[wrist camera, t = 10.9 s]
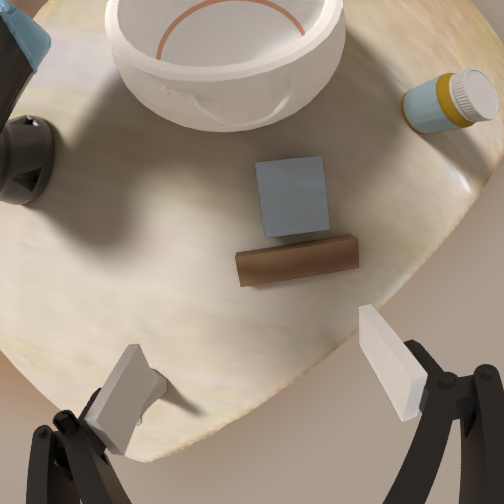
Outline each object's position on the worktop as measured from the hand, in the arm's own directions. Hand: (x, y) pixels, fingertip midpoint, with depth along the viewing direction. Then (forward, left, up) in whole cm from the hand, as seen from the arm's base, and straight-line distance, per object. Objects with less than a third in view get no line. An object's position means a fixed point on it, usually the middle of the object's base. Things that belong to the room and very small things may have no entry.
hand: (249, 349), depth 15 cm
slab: (-2, +6, -22) cm, 23 cm away
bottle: (-17, +28, -24) cm, 40 cm away
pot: (-28, +2, -24) cm, 37 cm away
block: (+2, +6, -24) cm, 24 cm away
